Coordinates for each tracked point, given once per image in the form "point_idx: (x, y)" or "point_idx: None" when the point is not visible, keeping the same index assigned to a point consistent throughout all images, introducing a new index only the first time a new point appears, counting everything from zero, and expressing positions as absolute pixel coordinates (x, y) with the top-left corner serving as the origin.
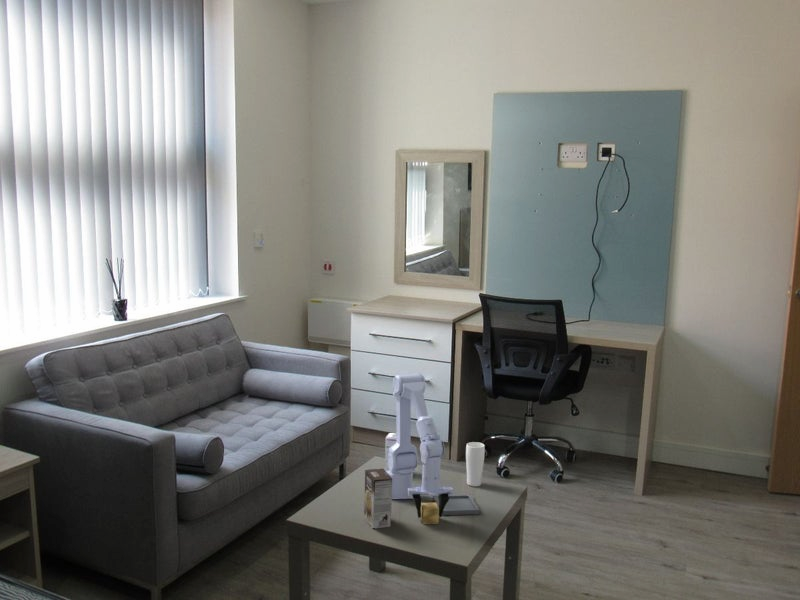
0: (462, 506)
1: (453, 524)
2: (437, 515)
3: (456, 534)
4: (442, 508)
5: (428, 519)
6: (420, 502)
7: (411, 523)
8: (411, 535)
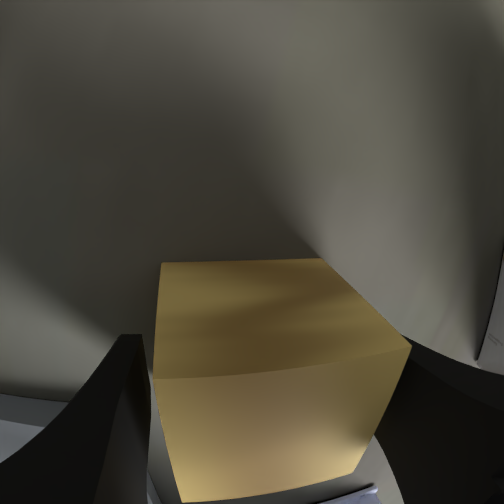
0: (4, 458)
1: (16, 233)
2: (176, 309)
3: (40, 6)
4: (92, 401)
5: (285, 281)
6: (501, 405)
7: (403, 271)
8: (451, 62)
